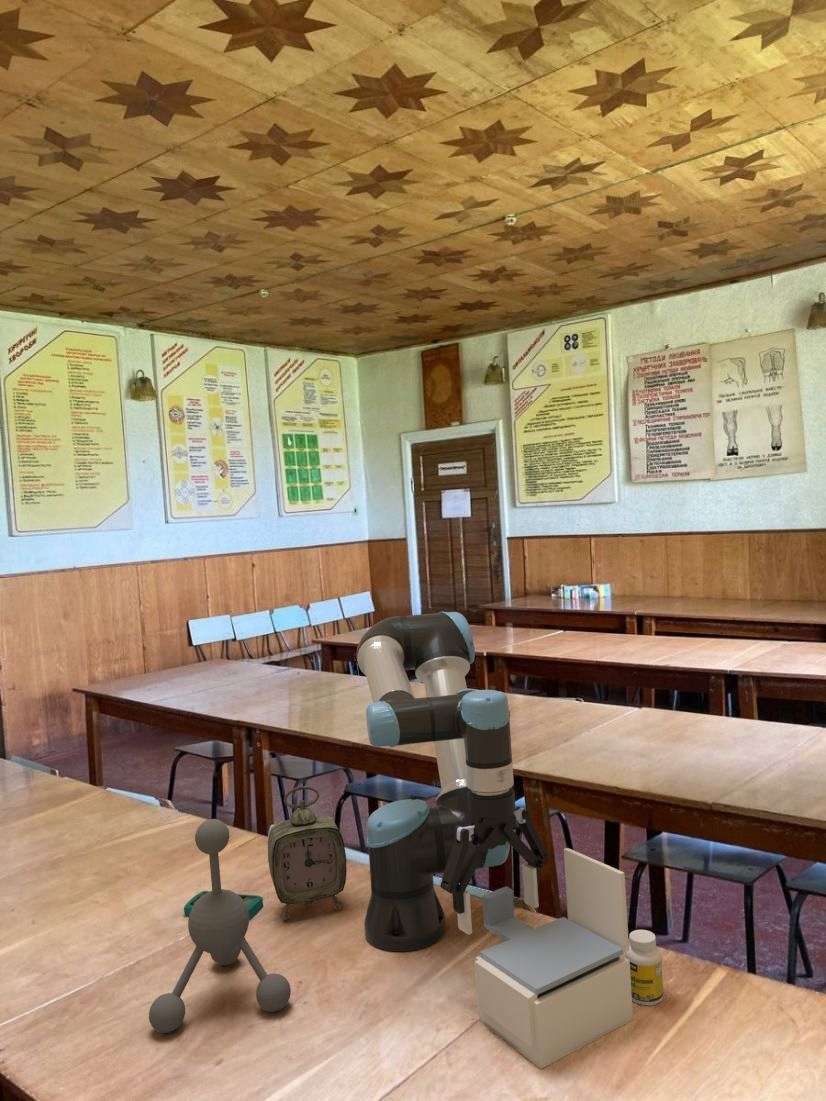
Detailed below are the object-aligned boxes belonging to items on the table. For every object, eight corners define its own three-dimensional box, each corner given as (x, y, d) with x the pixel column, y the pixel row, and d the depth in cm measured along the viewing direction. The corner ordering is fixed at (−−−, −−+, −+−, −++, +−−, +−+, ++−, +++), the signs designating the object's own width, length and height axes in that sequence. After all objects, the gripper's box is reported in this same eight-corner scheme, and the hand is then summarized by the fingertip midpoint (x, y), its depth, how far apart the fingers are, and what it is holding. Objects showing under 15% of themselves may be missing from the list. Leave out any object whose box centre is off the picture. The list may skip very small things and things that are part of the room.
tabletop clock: (276, 926, 165) (266, 798, 164) (270, 906, 174) (261, 785, 172) (350, 911, 169) (341, 786, 168) (341, 892, 178) (332, 773, 176)
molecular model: (116, 1009, 141) (100, 829, 139) (231, 953, 156) (218, 791, 155) (190, 1069, 124) (173, 866, 122) (311, 1000, 139) (297, 819, 138)
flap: (454, 939, 136) (452, 906, 135) (536, 906, 145) (534, 875, 144) (536, 995, 119) (534, 957, 119) (623, 954, 128) (621, 919, 128)
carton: (475, 1023, 130) (466, 881, 129) (572, 978, 140) (564, 846, 139) (536, 1071, 118) (526, 915, 117) (636, 1017, 129) (628, 874, 127)
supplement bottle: (622, 1000, 133) (618, 938, 133) (636, 983, 138) (632, 923, 137) (655, 1010, 130) (652, 947, 130) (669, 993, 134) (665, 932, 134)
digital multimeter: (201, 901, 179) (200, 888, 179) (265, 907, 174) (263, 893, 174) (181, 918, 172) (180, 904, 172) (246, 925, 167) (245, 910, 167)
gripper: (439, 813, 128) (449, 952, 129) (564, 776, 142) (572, 902, 143) (412, 801, 135) (422, 933, 136) (534, 766, 148) (542, 887, 149)
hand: (499, 917), depth 139 cm, fingers open, 13 cm apart
